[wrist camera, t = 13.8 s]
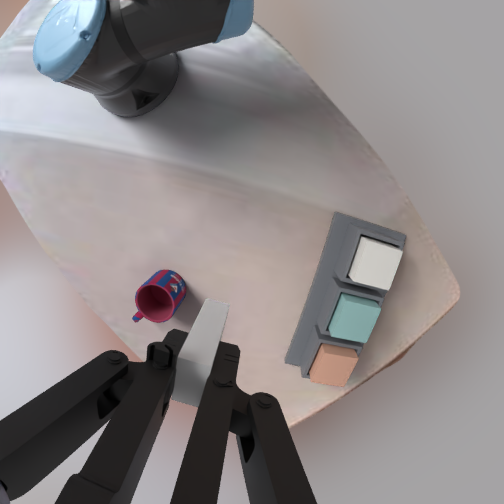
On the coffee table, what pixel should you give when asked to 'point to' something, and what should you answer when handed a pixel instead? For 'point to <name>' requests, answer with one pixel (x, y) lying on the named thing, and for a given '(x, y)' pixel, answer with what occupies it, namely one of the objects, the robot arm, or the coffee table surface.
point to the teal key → (353, 317)
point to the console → (335, 288)
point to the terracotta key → (332, 365)
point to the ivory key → (374, 262)
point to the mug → (160, 296)
